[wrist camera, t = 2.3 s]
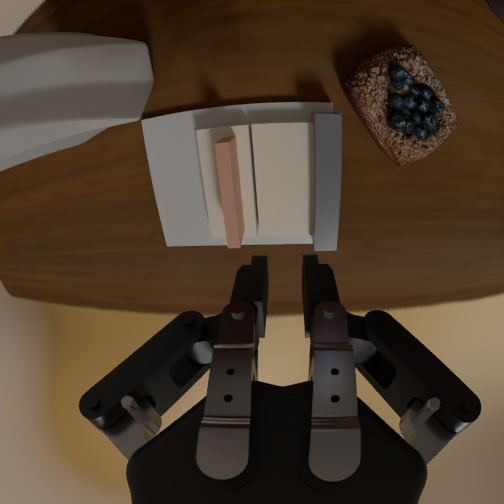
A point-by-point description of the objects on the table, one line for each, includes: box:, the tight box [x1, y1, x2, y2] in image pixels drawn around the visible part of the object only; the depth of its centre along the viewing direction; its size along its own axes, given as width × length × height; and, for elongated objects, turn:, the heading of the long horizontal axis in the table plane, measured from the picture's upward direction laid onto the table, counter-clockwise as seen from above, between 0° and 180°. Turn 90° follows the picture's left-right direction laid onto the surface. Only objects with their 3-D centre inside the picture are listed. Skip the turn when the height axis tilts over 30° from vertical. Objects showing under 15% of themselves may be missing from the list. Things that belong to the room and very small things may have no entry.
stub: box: [196, 123, 258, 248], centre depth 26 cm, size 5×12×5 cm, turn 4°
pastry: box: [341, 45, 458, 166], centre depth 20 cm, size 11×12×6 cm
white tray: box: [141, 102, 342, 251], centre depth 27 cm, size 20×16×4 cm
